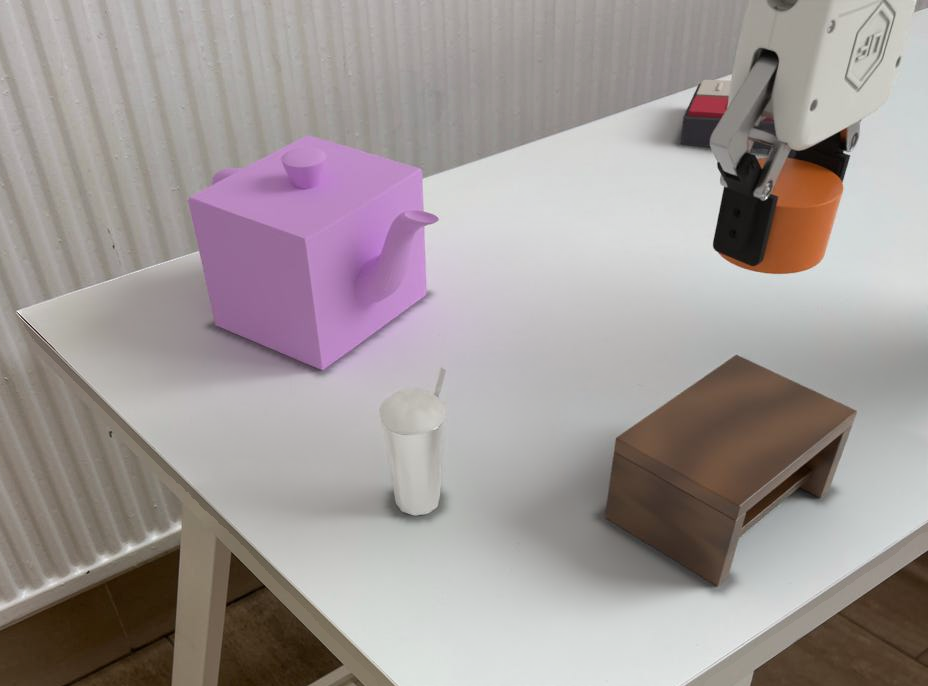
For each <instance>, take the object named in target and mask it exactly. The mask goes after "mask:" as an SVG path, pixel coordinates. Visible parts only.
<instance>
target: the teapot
mask: <svg viewBox="0 0 928 686" xmlns="http://www.w3.org/2000/svg"><path fill="white" fill-rule="evenodd" d="M211 178H212V179H211V185H210V186H208V187H206V188H204V189H202V190H201V191H199V192H197V193H195V194H193V195H192V196H190V197H189V198H188V199H187V203H188V207H189V212H190V217H191V222H192V225H193V230H194V234H195V238H196V244H197V249H198V253H199V257H200V261H201V266H202V270H203V276H204V280H205V284H206V289H207V293H208V298H209V302H210V303H209V304H210V306H211V307H210V308H211V311H212V316H213V320H214V325H215V326H217V327H218V328H221V329H223V330H226V331H227V332H230V333H233V334H235V335H237V336H240V337H243V338H245V339H247V340H250V341H252V342H254V343H256V344H259V345H261V346H264V347H266V348H267V349H271V350H273V351H275V352H278V353H280V354H281V355H282V354H283V355H285V356H286V357H290V358H292V359H294V360H297V361H299V362H301V363H303V364H306V365H309V366H311V367H312V368H315V369H317V370H320V371H324V370H326V369H327V368H328V367H330V366H331V365H333V364H334V363H335V362H336V361H338V360H339V359H341V358H342V357H343V356H345V355H346V354H348V353H349V352H350V351H352V350H353V349H354V348H356V347H357V346H358V345H360V344H361V343H363V342H364V341H366V340H368V338H370V337H371V336H372V335H374V334H375V333H377V332H378V331H379V330H381V329H382V328H383V327H385V326H386V325H388V324H389V323H390V322H392V321H393V320H394V319H396V318H397V317H399V316H400V315H401V314H403V313H404V312H406V311H407V310H408V309H409V308H411V307H412V306H414V305H415V304H417V303H418V301H420V300H422V299H423V298H424V297H425V296H427V288H428V287H427V266H426V265H427V263H426V238H425V235H426V234H425V226H426V227H427V226H430V225H434V224H435V223H438V222H439V221H440V219H439V217H438V216H437V215H435V214H433V213H430V212H427V211H424V209H425V208H424V183H423V182H424V181H423V170H422V168H420V167H417V166H414V165H413V166H412V165H411V164H406V163H403V162H400V161H397V160H393V159H390V158H387V157H383V156H380V155H377V154H373V153H371V152H367V151H363V150H360V149H357V148H354V147H350V146H347V145H344V144H340V143H337V142H333V141H330V140H326V139H323V138H321V137H316V136H314V135H310V134H307V135H304V136H303V137H301V138H299V139H297V140H295V141H293V142H291V143H289V144H287V145H286V146H283V147H282V148H280V149H278V150H276V151H274V152H273V153H270V154H269V155H266V156H264V157H263V158H261V159H258V160H257V161H255V162H253V163H251V164H249V165H247V166H245V167H244V168H242V167H226V168H223V169H220V170H219V171H217V172H216V173H214V175H213V176H212V177H211Z"/></svg>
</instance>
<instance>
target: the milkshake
mask: <svg viewBox="0 0 928 686" xmlns="http://www.w3.org/2000/svg"><path fill="white" fill-rule="evenodd" d="M446 373H447V369H445V368H444V367H440V370H439V373H438V378H437V381H436V385H435V388H434V392H430V391H427V390H424V389H421V388H407V389H403V390H398V391H397V392H395V393H393V394H392V395H390V396H388V397H387V398H386V399H384V400H383V402H381V404H380V407H379V418H380V425H381V428H382V433H383V438H384V442H385V443H384V444H385V448H386V454H387V459H388V465H389V472H390V477H391V482H392V483H391V484H392V490H393V494H394V500H395V504H396V505H397V508H399V509H400V511H401V512H402V513H405V514H409V515H411V516H413V517H415V516H423V515H428V514H430V513H432V512H433V511H434V510H436V509H437V508H438V506H439V502H440V498H441V483H442V463H443V448H444V438H445V429H446V419H447V407H446V404H445V402H444V401H443V400H442V399H441V398H440V394H441V390H442V386H443V384H444V380H445V376H446Z"/></svg>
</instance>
